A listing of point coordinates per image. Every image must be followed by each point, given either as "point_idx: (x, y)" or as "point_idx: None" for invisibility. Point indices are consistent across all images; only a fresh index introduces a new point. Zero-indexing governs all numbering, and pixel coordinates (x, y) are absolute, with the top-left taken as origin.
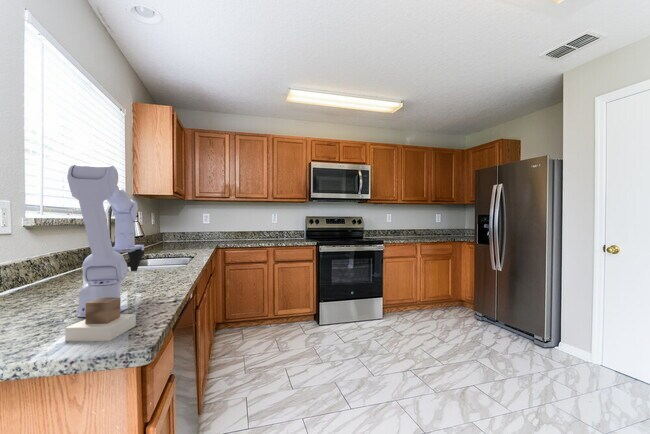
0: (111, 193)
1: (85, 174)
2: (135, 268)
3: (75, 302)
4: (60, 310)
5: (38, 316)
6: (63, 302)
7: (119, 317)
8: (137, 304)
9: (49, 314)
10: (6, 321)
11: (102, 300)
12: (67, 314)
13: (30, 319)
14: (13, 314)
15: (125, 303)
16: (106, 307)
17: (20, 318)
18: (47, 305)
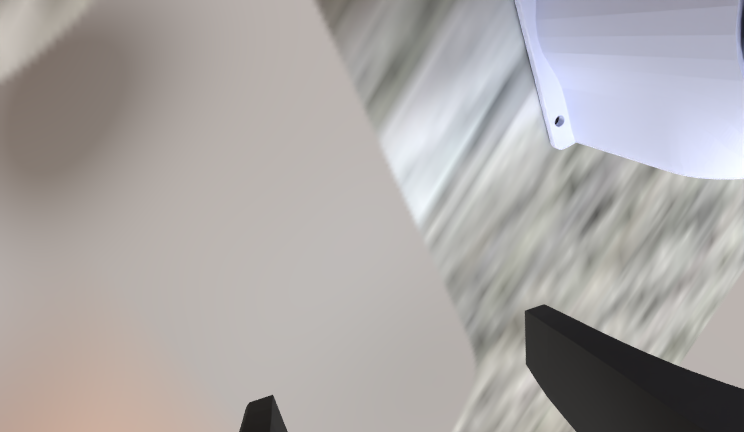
0: None
1: None
2: (275, 428)
3: (483, 386)
4: (598, 286)
5: (679, 256)
6: (500, 421)
7: None
8: (377, 14)
9: (652, 253)
10: (736, 277)
11: None
12: (643, 182)
13: (714, 234)
14: (666, 360)
15: (396, 133)
16: None
17: (705, 281)
18: (552, 413)
